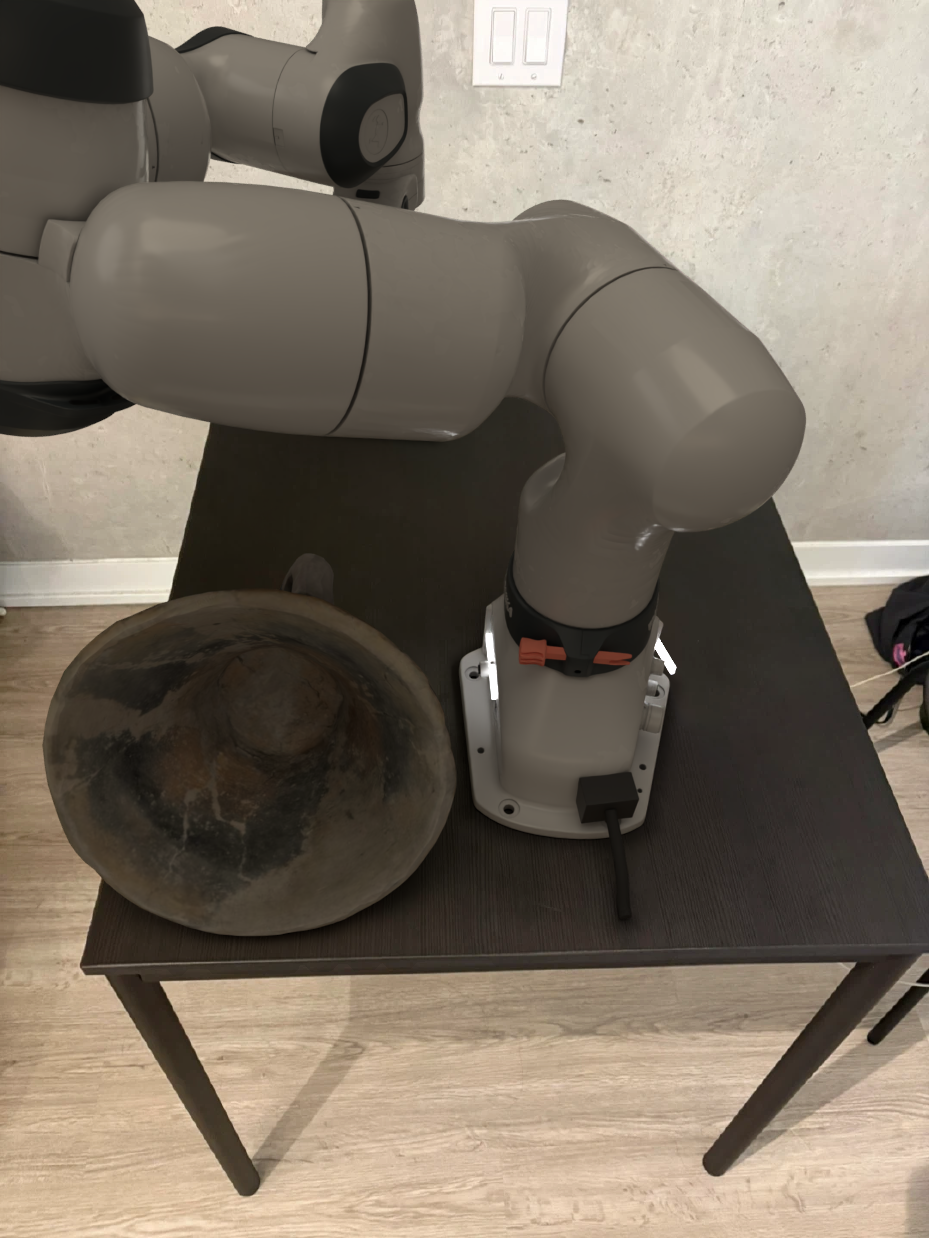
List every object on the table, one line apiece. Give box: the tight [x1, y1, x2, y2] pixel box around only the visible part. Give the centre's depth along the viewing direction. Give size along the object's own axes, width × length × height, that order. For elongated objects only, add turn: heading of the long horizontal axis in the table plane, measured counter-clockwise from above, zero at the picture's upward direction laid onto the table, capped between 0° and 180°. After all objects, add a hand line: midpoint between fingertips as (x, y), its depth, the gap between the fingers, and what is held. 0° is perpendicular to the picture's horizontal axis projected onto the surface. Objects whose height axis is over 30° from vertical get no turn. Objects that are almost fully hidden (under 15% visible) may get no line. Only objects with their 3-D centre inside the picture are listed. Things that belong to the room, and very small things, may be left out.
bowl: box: [41, 552, 458, 937], centre depth 63 cm, size 27×26×15 cm
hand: (386, 310), depth 93 cm, fingers open, 8 cm apart
